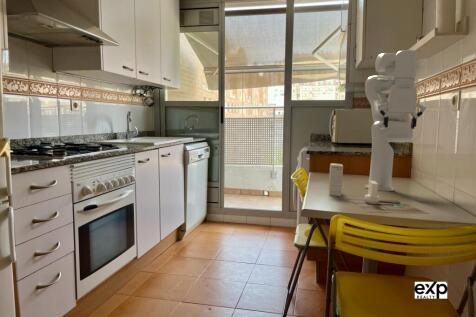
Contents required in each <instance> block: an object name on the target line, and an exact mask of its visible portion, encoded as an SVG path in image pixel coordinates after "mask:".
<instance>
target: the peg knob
mask: <svg viewBox="0 0 476 317" xmlns="http://www.w3.org/2000/svg"><path fill="white" fill-rule="evenodd" d="M368 184H369V186H368V188H367V194H364V197H365V201H364V202H365V203H368V204H379V203H390V204H400V202H401V201H400V202H392V201H380V200H379V199H380V198H381V197H380V195H378V183H376V182H375V181H368Z"/></svg>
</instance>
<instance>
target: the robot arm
mask: <svg viewBox="0 0 476 317" xmlns="http://www.w3.org/2000/svg"><path fill="white" fill-rule="evenodd" d="M417 64H418V52H417V51H416V50H413V49H412V50H411V49H402V50H399V51H397V52H383V53H379V54H378V55H377V57H376V58H375V64H374V67H375V71H376V73H377V74H378V75H377V74H376V75H371V76H369V77H368V78H366V80H365V83H364V92H365V97H366V98H367V100H368V102H369V104H370V109H371V114H372V116H371V117H372V121H373V124H372V125H371V129H370V130H371V156H370V170H369V178H368V182H369V181H375V182H376V183H378V191H379V192H380V191H381V192H393V191H394V190H395V187H394V186H392V177H393V166H394V164H393V163H394V156H395V155H394V152H395V151H394V148H393V147H392V146H391V144H390V143H408V142H410V141H411V140H413V137H414V129H415V128H416V127H417V121H418V120H417V119H419V117H421V116H422V115H423V114H424V112H425V110H426V108H427V107H425V106H424V105H422V104H421V103H418V90H417V87H416V86H415V80H416V72H417ZM383 93H384V94H383ZM385 94H388V96H387V97H386V95H385ZM417 109H420V110H419V111H418V112H417V113H416V111H417ZM410 115H411V116H412V118H411V116H410ZM368 186H369V183H367V184H365V186H364V187H365V188H366V189H368Z"/></svg>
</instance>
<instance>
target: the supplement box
mask: <svg viewBox="0 0 476 317" xmlns="http://www.w3.org/2000/svg"><path fill="white" fill-rule="evenodd" d="M343 171H344V165H343V164H342V163H333V162H332V163H330V164H329V174H328V176H329V178H328V191H327V192H328V196H339V197H342V185H343V173H344V172H343Z"/></svg>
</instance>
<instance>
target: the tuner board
mask: <svg viewBox="0 0 476 317" xmlns="http://www.w3.org/2000/svg"><path fill="white" fill-rule="evenodd" d="M343 198H344V199H346V200H348V201H350V202H351V203H353V204H354V205H357V206H359V207H360V208H362V209H363V210H365V211H367V212H369V213H372V214H373V213H374V214H375V213H378V214H379V213H380V214H415V215H416V214H420V215H423V214H424V215H428V214H430V213H429V212H427V211H425V210H422V209H420V208H417V207H414V206H412V205H409V204H408V203H405V202H402V201H400V200H398V199H395V198H394V197H380V199H379V200H380V201H392V202H400V204H390V203H379V204H368V203H365V202H364V201H365V196H343Z"/></svg>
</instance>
